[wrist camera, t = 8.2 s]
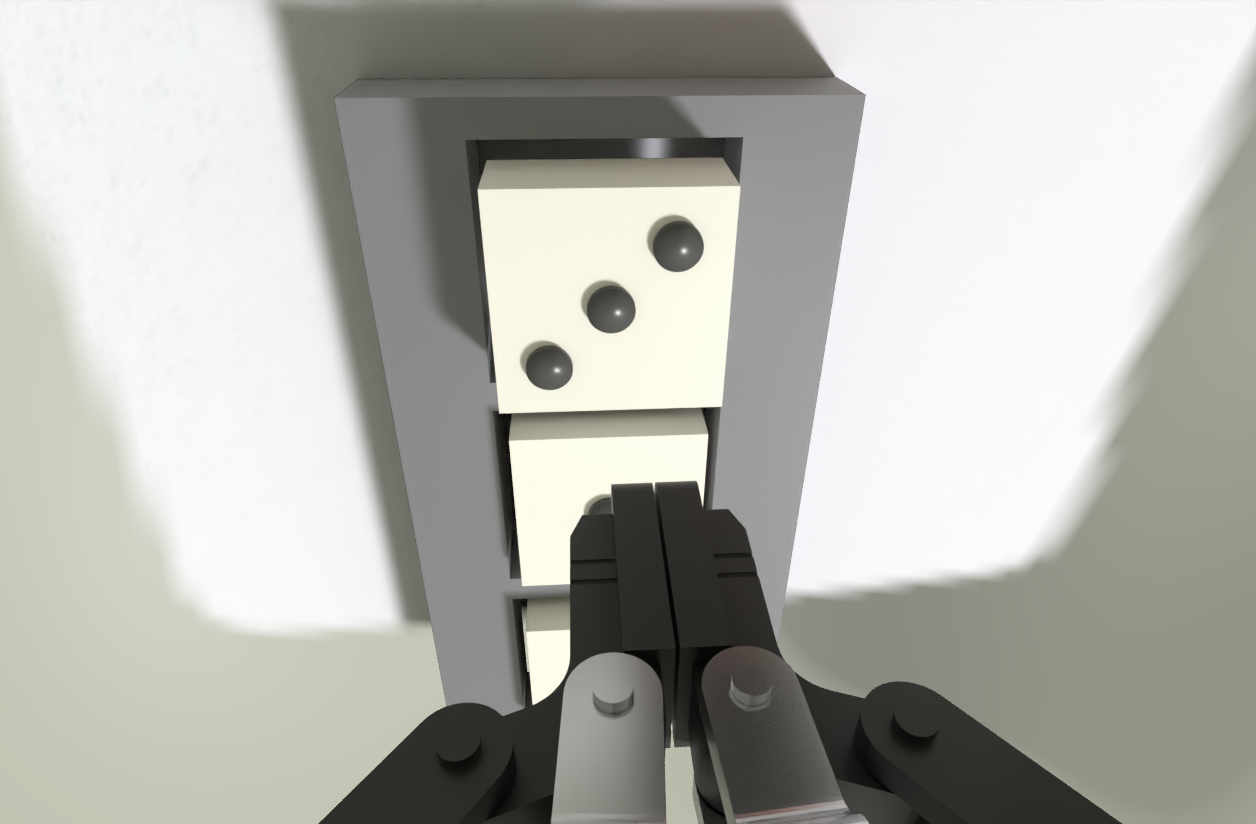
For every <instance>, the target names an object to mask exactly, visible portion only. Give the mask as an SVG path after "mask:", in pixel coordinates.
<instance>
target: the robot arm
mask: <svg viewBox="0 0 1256 824" xmlns="http://www.w3.org/2000/svg"><path fill="white" fill-rule="evenodd" d="M671 724H672V730H673V738H674V746H675V747H686V746H690V748H691V754H692V762H693V769H694V779H693V801H694V805H695V810H696V815H697V820H698V824H1122V823H1120V822H1119V821H1118V820H1116V819H1115V818H1113V817H1112V816H1110V815H1109V814H1108V813H1106V812H1105V811H1103V810H1102V809H1101V808H1099V807H1098V806H1096V805H1095V804H1093V803H1092V802H1091V801H1089V800H1088V799H1086V798H1085V797H1083V796H1082V795H1081V794H1079V793H1078V792H1077V791H1075V790H1074V789H1072V788H1071V787H1070V786H1068V785H1067V784H1065V783H1064V782H1062V781H1061V780H1060V779H1058V778H1057V777H1055V776H1054V775H1053V774H1051V773H1050V772H1048V771H1047V770H1045V769H1044V768H1042V767H1041V766H1040V765H1038V764H1037V763H1036V762H1034V761H1033V760H1031V759H1030V758H1028V757H1027V756H1026V755H1024V754H1023V753H1021V752H1020V751H1019V750H1017V749H1016V748H1014V747H1013V746H1012V745H1010V744H1009V743H1007V742H1006V741H1005V740H1003V739H1001V738H1000V737H999V736H997V735H996V734H995V733H993V732H992V731H990V730H989V729H988V728H986V727H985V726H983V725H982V724H980V723H979V722H978V721H976V720H975V719H973V718H972V717H970V716H969V715H967V714H966V713H965V712H963V711H962V710H961V709H959V708H958V707H956V706H955V705H954V704H952V703H951V702H949V701H948V700H946V699H945V698H944V697H942V696H941V695H939V694H938V693H936V692H934V691H933V690H931V689H928V688H926V687H924V686H921V685H918V684H914V683H909V682H889V683H886V684H882V685H880V686H878V687H876V688H875V689H873V690H872V691H871V692H870V693H869V694H868V695H867V696H866V698H865V699H864V698H860V697H856V696H852V695H847V694H843V693H839V692H834V691H830V690H827V689H824V688H821V687H819V686H816V685H814V684H811V683H810V682H808V681H807V680H805V679H803V678H802V677H801V676H799V675H798V674H797V673H795V672H794V671H793V669H792V668H791V667H790V666H789V665H788V664H787V663H786V662H785V660H784V659H783V657H782V655H781V653H780V651H779V648H778V646H777V642H776V638H775V635H774V631H773V627H772V624H771V620H770V616H769V613H768V609H767V605H766V601H765V598H764V594H763V590H762V587H761V583H760V579H759V576H758V575H757V568H756V565H755V561H754V557H752V550H751V546H750V543H749V539H748V535H747V532H746V529H745V528H744V526H743V525H742V524H741V523H740V522H739V521H738V520H737V518H736V517H735V516H734V515H733V514H732V513H731V511H730V510H729V509H713V510H703V505H702V501H701V496H700V491H699V487H698V483H697V481H676V482H655V486H654V489H653V484H652V483H629V484H611V514H595V515H582V516H581V518H580V520H579V522H578V523H577V525H576V527H575V529H574V530H573V532H572V534H571V536H570V662H569V667H568V670H567V673H566V675H565V677H564V679H563V680H562V682H561V683H560V685H559V686H558V687H557V688H556V689H555V690H554V691H553V692H552V693H551V694H550V695H549V696H547V697H546V698H545V699H543V700H541V701H540V702H538V703H536V704H534V705H531V706H529V707H527V708H524V709H521V710H518V711H516V712H513V713H510V714H507V715H505V716H502V715H501V714H500V713H498V712H497V711H496V710H494V709H492V708H491V707H489V706H486V705H483V704H479V703H458V704H453V705H450V706H446V707H444V708H442V709H440V710H438V711H436V712H434V713H433V714H431V715H430V716H429V717H427V718H426V719H425V720H424V721H423V722H422V723H421V724H419V725H418V727H416V728H415V729H414V731H413V732H411V733H410V734H409V735H408V736H407V737H406V738H405V739H404V740H403V741H402V742H401V743H400V744H399V745H398V746H397V747H396V748H395V749H394V750H393V751H392V752H391V753H390V754H389V755H388V756H387V757H386V758H385V759H384V760H383V761H382V762H381V763H380V764H379V765H378V766H377V767H376V768H375V769H374V770H373V771H372V772H371V773H370V774H369V775H368V776H367V777H366V778H365V779H363V780H362V781H361V782H360V783H359V784H358V785H357V786H356V787H355V788H354V789H353V790H352V791H351V792H350V793H349V794H348V795H347V796H346V797H345V798H344V799H343V800H342V801H341V802H340V803H339V804H338V805H337V806H336V807H335V808H334V809H333V810H332V811H331V812H330V813H329V814H328V815H327V816H326V817H325V818H324V819H323V820H322V821H321V822H320V823H319V824H666V796H665V795H666V794H665V748H670V743H671Z"/></svg>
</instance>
